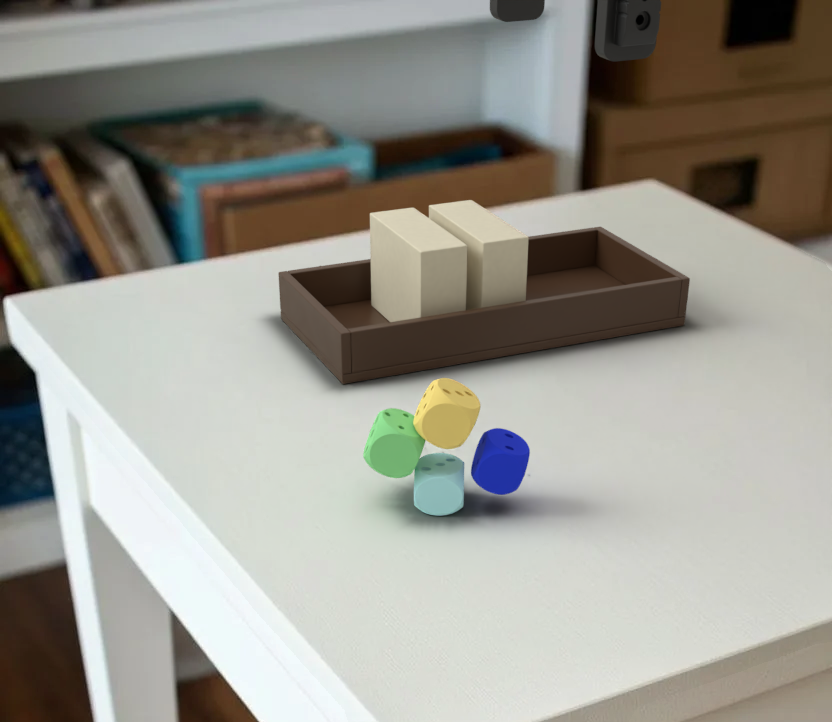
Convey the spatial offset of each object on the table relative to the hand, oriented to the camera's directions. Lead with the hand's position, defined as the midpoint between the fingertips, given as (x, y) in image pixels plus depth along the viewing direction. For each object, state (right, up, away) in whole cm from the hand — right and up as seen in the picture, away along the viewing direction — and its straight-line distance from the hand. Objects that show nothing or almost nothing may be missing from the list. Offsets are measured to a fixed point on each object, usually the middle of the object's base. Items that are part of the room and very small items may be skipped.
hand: (566, 37), depth 54 cm
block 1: (-6, -4, +32) cm, 33 cm away
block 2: (-2, -3, +33) cm, 34 cm away
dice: (-4, -17, +14) cm, 23 cm away
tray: (-2, -4, +34) cm, 34 cm away
